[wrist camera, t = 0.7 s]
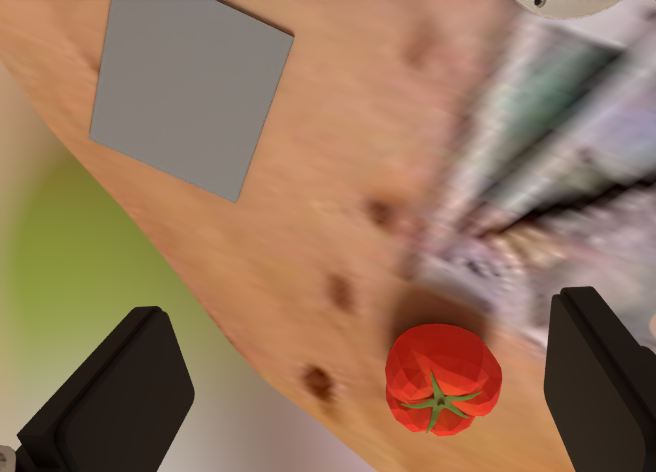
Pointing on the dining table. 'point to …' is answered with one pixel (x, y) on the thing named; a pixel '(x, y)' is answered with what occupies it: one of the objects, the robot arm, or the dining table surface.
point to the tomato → (441, 379)
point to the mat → (187, 88)
